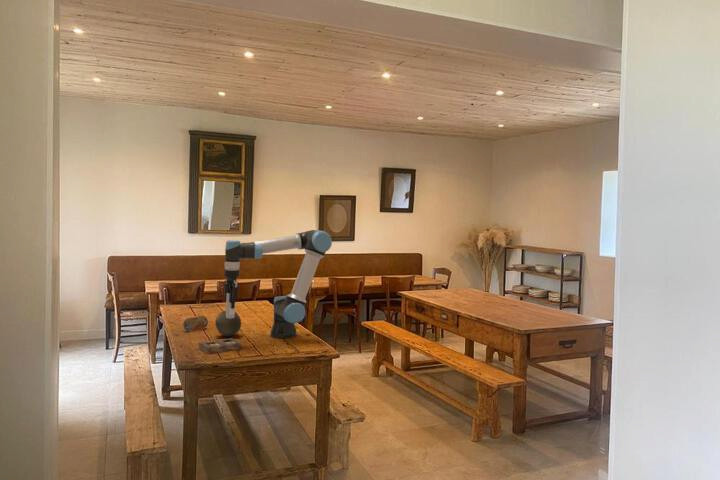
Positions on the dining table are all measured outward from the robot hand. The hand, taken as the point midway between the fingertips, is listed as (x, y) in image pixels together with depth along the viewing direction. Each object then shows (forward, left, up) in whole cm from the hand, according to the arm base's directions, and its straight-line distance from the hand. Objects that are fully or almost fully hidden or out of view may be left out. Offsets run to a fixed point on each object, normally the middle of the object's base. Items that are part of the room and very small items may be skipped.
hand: (230, 313), depth 275 cm
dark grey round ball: (-8, -21, -18) cm, 29 cm away
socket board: (+6, +2, -17) cm, 19 cm away
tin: (+2, -46, -18) cm, 49 cm away
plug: (0, 0, -2) cm, 2 cm away
